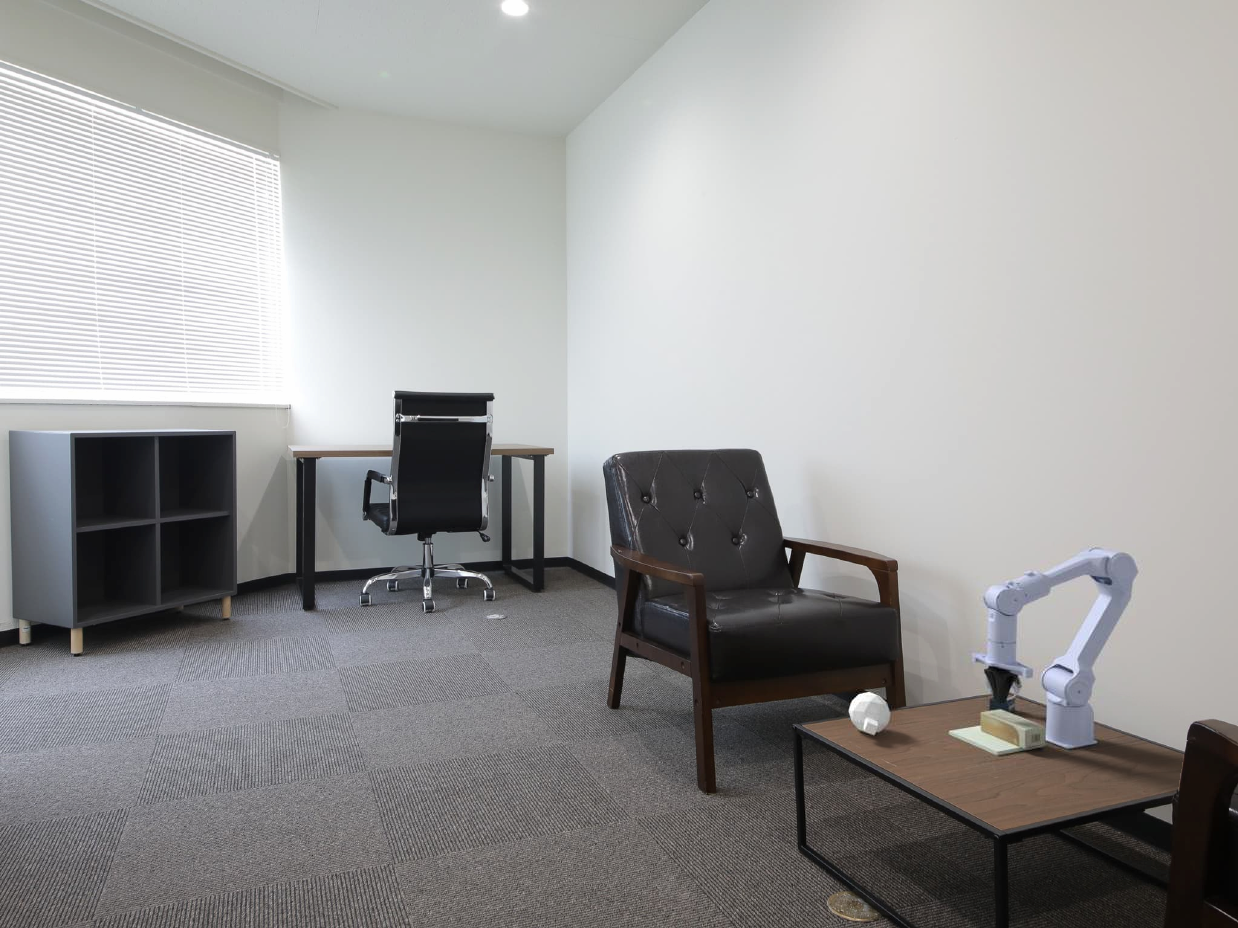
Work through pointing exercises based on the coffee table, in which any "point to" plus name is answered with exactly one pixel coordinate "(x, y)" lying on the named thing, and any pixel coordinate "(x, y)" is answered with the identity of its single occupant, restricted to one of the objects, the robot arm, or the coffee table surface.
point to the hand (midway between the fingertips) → (1000, 701)
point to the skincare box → (1013, 729)
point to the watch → (1010, 703)
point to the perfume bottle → (869, 713)
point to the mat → (985, 741)
